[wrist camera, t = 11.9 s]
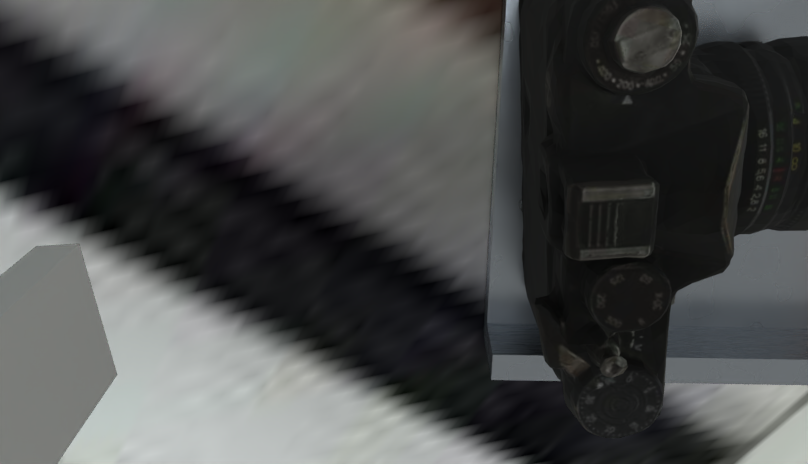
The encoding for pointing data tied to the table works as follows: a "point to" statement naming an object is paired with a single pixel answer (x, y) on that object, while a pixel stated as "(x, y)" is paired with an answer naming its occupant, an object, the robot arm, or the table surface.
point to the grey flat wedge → (694, 304)
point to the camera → (644, 182)
